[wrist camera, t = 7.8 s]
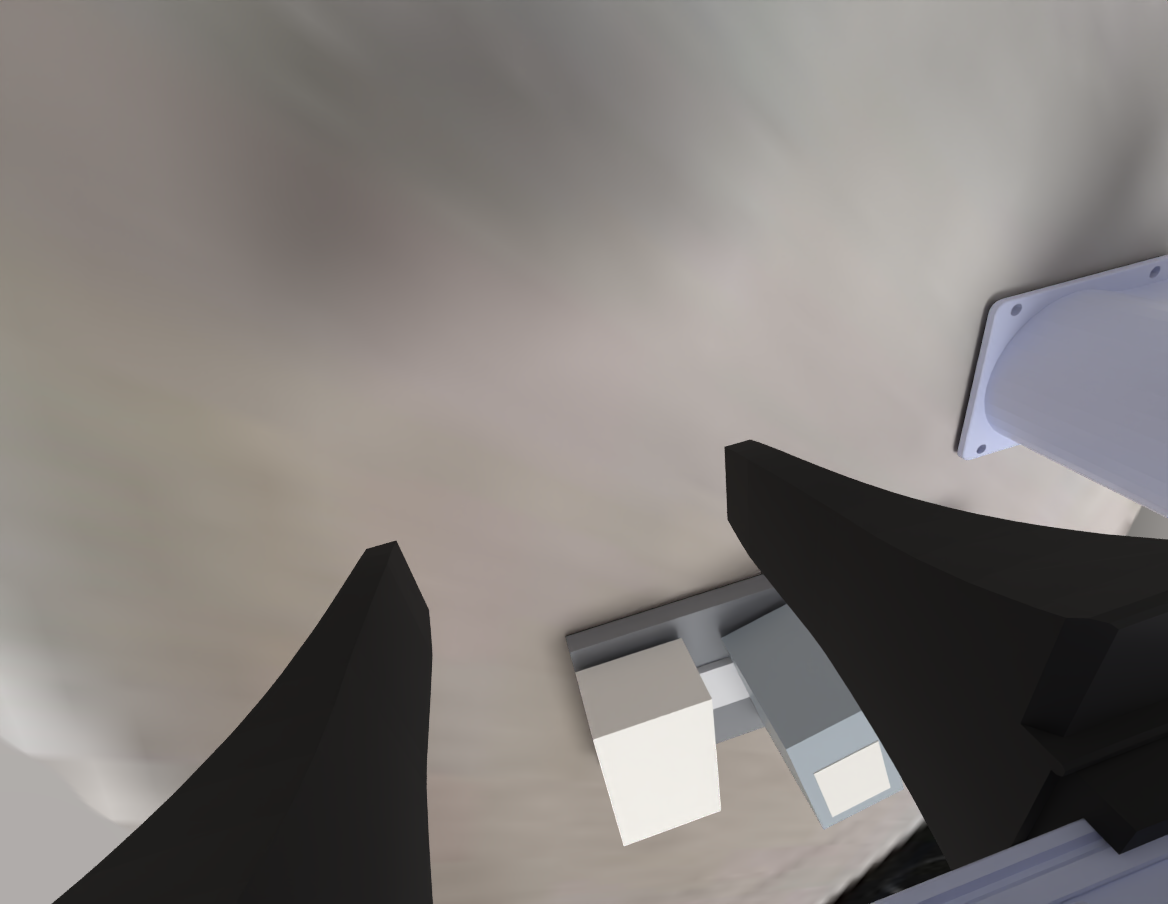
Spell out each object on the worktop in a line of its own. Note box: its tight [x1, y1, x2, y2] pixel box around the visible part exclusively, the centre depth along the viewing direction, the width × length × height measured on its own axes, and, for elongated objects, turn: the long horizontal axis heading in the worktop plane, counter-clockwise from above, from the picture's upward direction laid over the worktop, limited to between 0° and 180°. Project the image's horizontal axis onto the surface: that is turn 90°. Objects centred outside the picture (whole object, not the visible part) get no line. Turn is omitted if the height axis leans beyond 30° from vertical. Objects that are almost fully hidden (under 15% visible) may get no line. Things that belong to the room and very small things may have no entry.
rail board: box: [566, 574, 787, 846], centre depth 29 cm, size 22×12×5 cm, turn 100°
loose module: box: [721, 604, 904, 829], centre depth 27 cm, size 4×9×6 cm, turn 25°
